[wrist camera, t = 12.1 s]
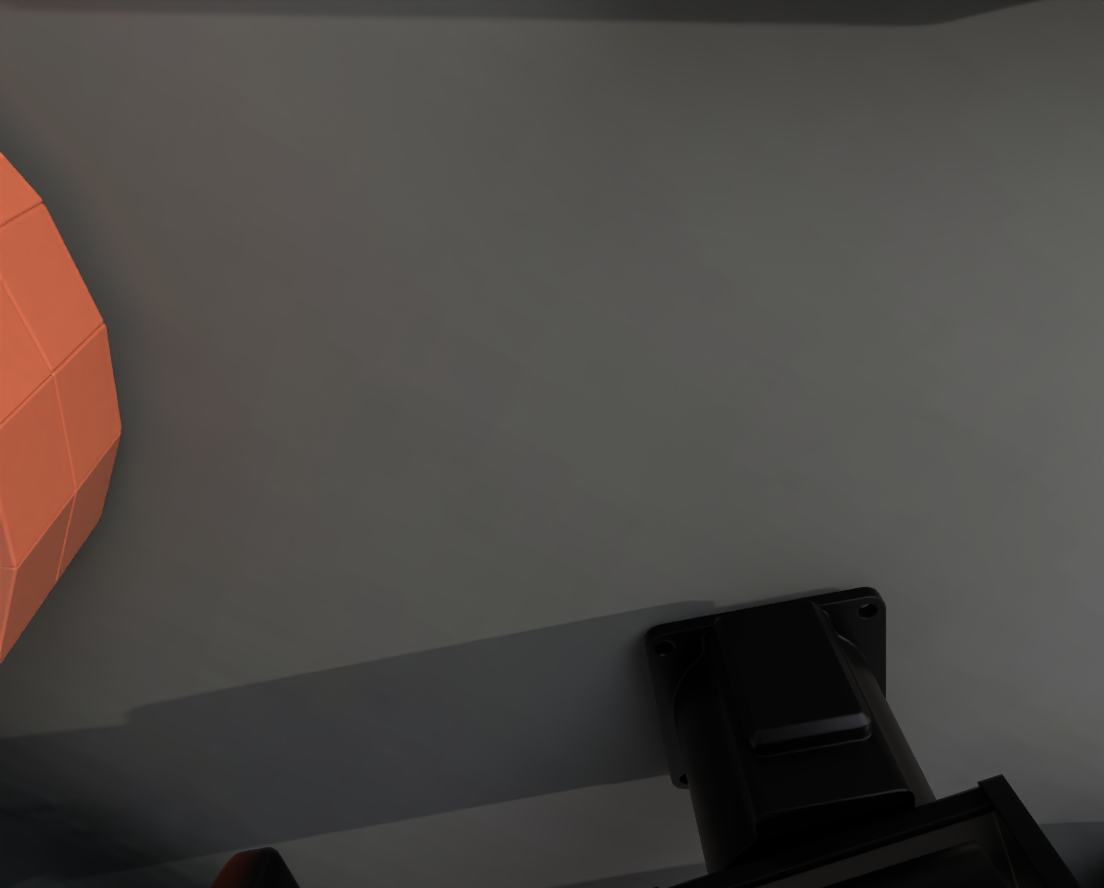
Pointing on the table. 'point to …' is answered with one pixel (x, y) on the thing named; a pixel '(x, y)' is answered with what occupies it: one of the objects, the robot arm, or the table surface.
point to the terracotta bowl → (47, 406)
